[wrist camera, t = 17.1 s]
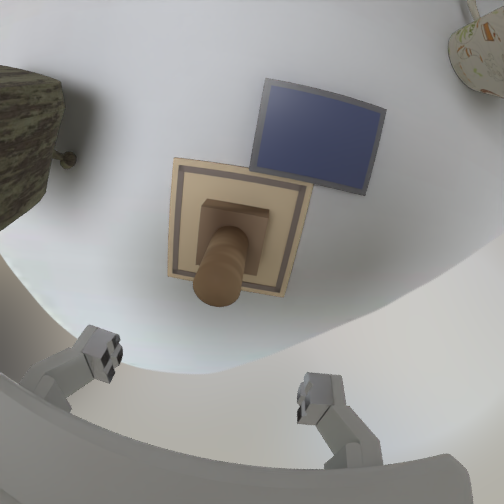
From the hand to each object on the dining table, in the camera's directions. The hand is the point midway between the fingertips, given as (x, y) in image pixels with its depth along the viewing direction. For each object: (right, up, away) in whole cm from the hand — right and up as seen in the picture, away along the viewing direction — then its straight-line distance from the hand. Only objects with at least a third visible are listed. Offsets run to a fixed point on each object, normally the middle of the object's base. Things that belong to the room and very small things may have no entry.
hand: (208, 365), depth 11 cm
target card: (0, +6, +13) cm, 14 cm away
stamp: (0, +6, +12) cm, 14 cm away
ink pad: (+7, +13, +9) cm, 17 cm away
